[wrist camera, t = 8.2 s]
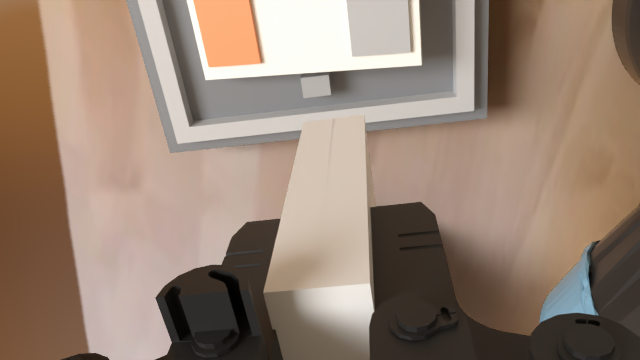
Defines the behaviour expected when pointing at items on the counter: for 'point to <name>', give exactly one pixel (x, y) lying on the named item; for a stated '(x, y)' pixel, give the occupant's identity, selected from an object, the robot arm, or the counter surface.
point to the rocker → (304, 36)
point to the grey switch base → (312, 82)
